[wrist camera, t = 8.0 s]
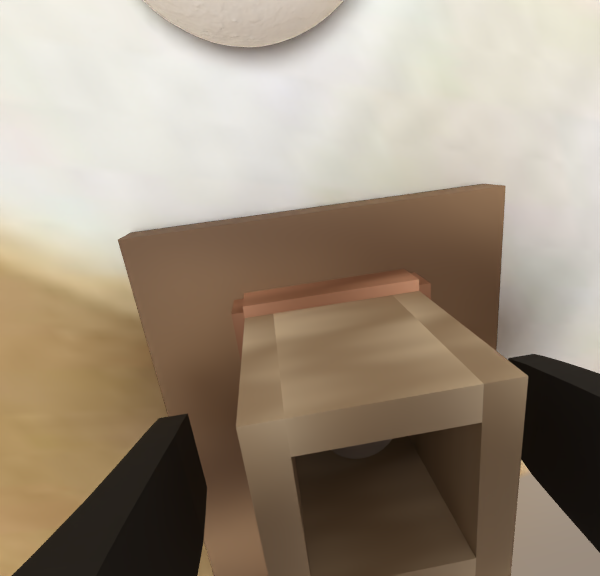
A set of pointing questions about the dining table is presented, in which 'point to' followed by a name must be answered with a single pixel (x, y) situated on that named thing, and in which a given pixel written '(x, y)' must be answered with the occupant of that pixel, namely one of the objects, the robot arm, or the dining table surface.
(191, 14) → the garlic bulb
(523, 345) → the dining table surface
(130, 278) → the pin board
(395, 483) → the banded sleeve
